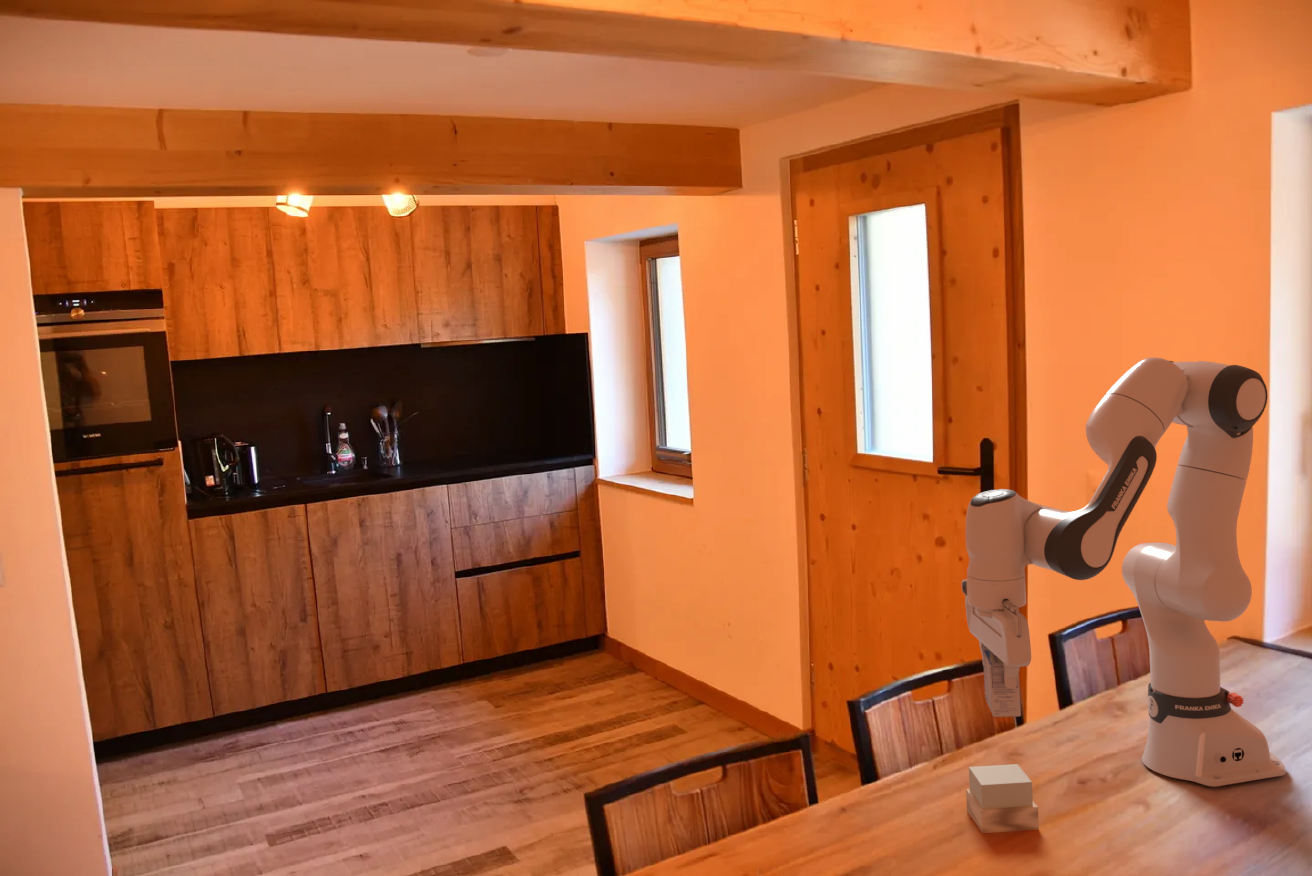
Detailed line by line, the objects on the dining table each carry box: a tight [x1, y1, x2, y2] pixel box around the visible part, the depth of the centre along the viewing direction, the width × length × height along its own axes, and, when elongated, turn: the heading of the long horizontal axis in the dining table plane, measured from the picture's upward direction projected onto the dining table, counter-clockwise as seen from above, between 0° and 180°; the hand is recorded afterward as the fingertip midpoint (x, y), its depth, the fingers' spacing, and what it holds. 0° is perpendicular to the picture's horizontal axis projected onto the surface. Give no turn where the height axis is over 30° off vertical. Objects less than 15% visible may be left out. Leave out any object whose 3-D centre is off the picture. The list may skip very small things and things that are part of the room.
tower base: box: [965, 788, 1040, 834], centre depth 171 cm, size 9×8×4 cm
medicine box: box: [982, 650, 1022, 718], centre depth 169 cm, size 8×4×9 cm, turn 171°
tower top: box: [968, 763, 1034, 809], centre depth 170 cm, size 8×7×4 cm
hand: (999, 677), depth 169 cm, fingers closed on medicine box, 8 cm apart
